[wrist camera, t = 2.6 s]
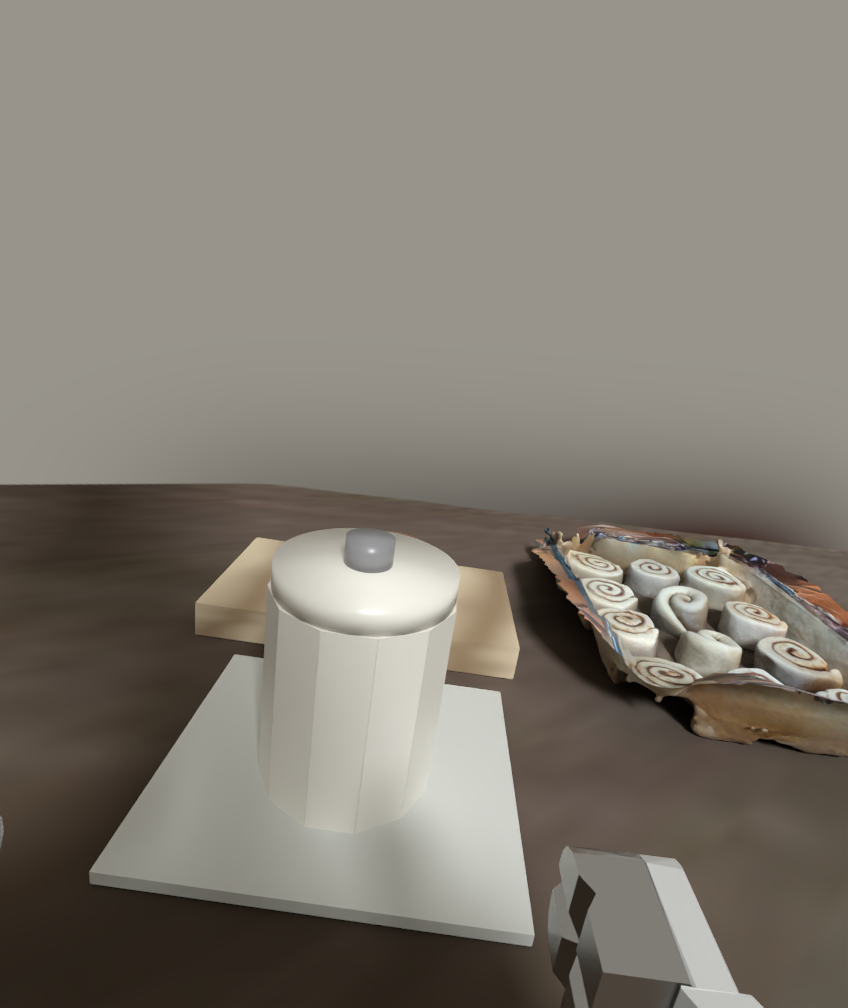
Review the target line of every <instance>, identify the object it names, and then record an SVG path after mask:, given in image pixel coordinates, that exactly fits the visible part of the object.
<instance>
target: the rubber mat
mask: <svg viewBox="0 0 848 1008" xmlns="http://www.w3.org/2000/svg"><path fill="white" fill-rule="evenodd" d="M263 663H264V658H257V657H250V656H243V655H236V654H235V655H234V656H233V658H232V659H231V661H230V662H229V664H228V665H227V667H226V668H225V670H224V671H223V673H222V674H221V676H220V677H219V679H218V680H217V682H216V683H215V685H214V686H213V688H212V689H211V690H210V692H209V693H208V695H207V696H206V698H205V699H204V701H203V702H202V704H201V705H200V707H199V708H198V710H197V711H196V713H195V714H194V716H193V717H192V719H191V720H190V722H189V723H188V725H187V726H186V728H185V729H184V731H183V732H182V734H181V735H180V737H179V738H178V740H177V741H176V743H175V744H174V746H173V747H172V749H171V750H170V752H169V753H168V755H167V756H166V758H165V759H164V761H163V762H162V764H161V765H160V767H159V768H158V770H157V771H156V773H155V774H154V776H153V777H152V779H151V780H150V782H149V783H148V785H147V786H146V787H145V789H144V790H143V792H142V793H141V795H140V796H139V798H138V799H137V801H136V802H135V804H134V805H133V807H132V808H131V810H130V811H129V813H128V814H127V816H126V817H125V819H124V820H123V822H122V823H121V825H120V826H119V828H118V829H117V831H116V832H115V834H114V835H113V837H112V838H111V840H110V841H109V843H108V844H107V846H106V847H105V849H104V850H103V852H102V853H101V855H100V856H99V858H98V859H97V861H96V862H95V864H94V865H93V867H92V868H91V870H90V871H89V879H90V884H96V885H103V886H110V887H117V888H124V889H131V890H138V891H145V892H152V893H159V894H166V895H173V896H180V897H187V898H194V899H201V900H208V901H215V902H222V903H229V904H236V905H243V906H250V907H257V908H264V909H271V910H278V911H285V912H292V913H299V914H306V915H313V916H320V917H327V918H334V919H341V920H348V921H355V922H362V923H369V924H376V925H383V926H390V927H397V928H404V929H411V930H418V931H425V932H432V933H439V934H446V935H453V936H460V937H467V938H474V939H481V940H488V941H495V942H502V943H509V944H516V945H523V946H530V947H532V943H533V940H534V936H535V934H534V927H533V920H532V913H531V906H530V899H529V892H528V885H527V878H526V871H525V864H524V857H523V850H522V843H521V836H520V829H519V822H518V815H517V808H516V800H515V793H514V786H513V779H512V772H511V765H510V758H509V751H508V744H507V737H506V730H505V723H504V716H503V709H502V702H501V695H500V692H497V691H490V690H483V689H476V688H469V687H462V686H455V685H448V684H444V688H443V694H442V700H441V706H440V711H439V717H438V723H437V729H436V735H435V741H434V747H433V753H432V758H431V764H430V770H429V776H428V782H427V788H426V789H425V790H424V792H423V793H422V794H421V795H420V796H419V798H418V799H417V800H416V801H415V802H414V803H413V805H412V806H411V807H410V808H409V809H408V810H407V812H406V813H405V814H404V815H403V816H402V817H401V818H400V819H398V820H395V821H392V822H389V823H386V824H383V825H380V826H377V827H374V828H371V829H368V830H365V831H362V832H359V833H356V834H355V833H354V834H350V833H343V832H336V831H329V830H322V829H315V828H308V827H303V826H302V825H301V824H299V823H298V822H297V821H296V820H294V819H293V818H292V817H290V816H289V815H288V814H286V813H285V812H284V811H282V810H281V809H280V808H279V807H277V806H276V805H275V804H273V803H272V802H271V801H269V799H268V797H267V793H266V790H265V786H264V782H263V779H262V775H261V772H260V768H259V765H258V764H259V744H260V723H261V703H262V683H263Z"/></svg>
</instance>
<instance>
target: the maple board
mask: <svg viewBox="0 0 848 1008" xmlns="http://www.w3.org/2000/svg"><path fill="white" fill-rule="evenodd" d="M284 542H285V541H278V540H271V539H264V538H256V539H255V540H254V541H253V542H252V543H251V544H250V545H249V546H248V547H247V548H246V550H245V551H244V552H243V553H242V554H241V555H240V556H239V557H238V558H237V559H236V560H235V561H234V562H233V563H232V564H231V565H230V566H229V567H228V569H227V570H226V571H225V572H224V573H223V574H222V575H221V576H220V577H219V578H218V579H217V580H216V581H215V582H214V583H213V584H212V585H211V586H210V588H209V589H208V590H207V591H206V592H205V593H204V594H203V595H202V596H201V597H200V598H199V599H198V600H197V601H196V602H195V634H196V635H203V636H210V637H217V638H224V639H231V640H238V641H245V642H252V643H259V644H264V643H265V623H266V603H267V585H268V583H269V582H270V580H271V572H272V558H273V554H274V553H275V551H276V549H277V548H278V547H279V546H280V545H281V544H283V543H284ZM458 568H459V571H460V582H459V588H458V594H457V600H456V610H457V612H456V617H455V623H454V629H453V635H452V641H451V647H450V653H449V659H448V664H447V670H450V671H457V672H464V673H471V674H478V675H485V676H492V677H500V678H507V679H513V677H514V673H515V668H516V663H517V659H518V654H519V649H520V648H519V643H518V639H517V634H516V630H515V626H514V621H513V617H512V612H511V608H510V603H509V599H508V594H507V590H506V585H505V581H504V576H503V572H498V571H491V570H484V569H477V568H470V567H462V566H458Z"/></svg>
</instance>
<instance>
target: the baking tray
mask: <svg viewBox="0 0 848 1008" xmlns="http://www.w3.org/2000/svg"><path fill="white" fill-rule="evenodd" d="M577 531H578V533H577V534H576V535H575V537H572V539H571V540H568V541H562V539H561V537H562V535H563V534H562V533H561V532H557V533H555V532H554V531H552V532H551V531H550V529H549V528H546V529H545V533H546V534H548V535H549V536H548V537H545V538H542V539H537V540H536V541H537V542H535V543H536V545H538V546H539V548H535V549H532V550H533V551H532V552H533V553H535V554H537V555H540V557H539V558H542V559H543V561H545V565H546V566H548V569H549V570H551V571H552V573H554V574H556V576H555V577H556V584H557V587H558V588H559V589H560V590H562V591H564V592H565V593H567V594H568V595H567V596H566V598H567V599H569V600H570V601H571V602H572V603H573V604H574V605H575V606H576V607H577V608H578V609H579V612H578V613H577V614H578V615H579V617H580V619H581V621H582V623H583V626H584V627H585V628H586V629H587V630H589V631H592V630H594V635H595V638H596V641H597V644H598V648H599V652H600V656H601V659H602V662H603V664H604V665H605V667H606V668H607V672H608V674H609V676H610V678H611V679H612V681H613V682H614V683H616V684H618V683H620V682H625V681H628V682H633V681H634V682H637V683H639V684H641V685H643V686H645V687H647V688H648V689H650V690H651V691H653V692H654V693H655V694H657V696H656V698H655V701H656V702H661V700H662V698H663V697H664V696H678V697H680V698H681V699H683V700H684V701H686V702H687V703H688V704H690V705H691V706H692V707H694V713H693V717H692V718H691V721H690V726H691V729H692V731H693V732H694V733H695V734H697V735H699V736H701V737H705V738H708V739H713V740H722V741H729V742H738V743H743V744H748V745H751V744H752V742H755V741H756V740H758V739H768V740H774V741H776V742H778V743H782V744H786V745H790V746H792V747H794V748H796V749H799V750H802V751H803V752H806V753H816V754H827V755H835V756H844V757H848V612H846V611H844V610H843V608H842V607H840V606H839V605H838V604H837V603H836V602H835V601H834V600H833V599H832V598H831V597H830V596H829V595H827V594H824V593H822V592H821V588H819V587H818V586H816V585H814V584H809V583H808V580H806V579H804V578H803V577H802V576H800V575H796V574H792V573H789V572H786V571H785V569H784V568H783V566H780V565H778V564H775V563H773V562H770V561H768V560H766V559H763V558H761V557H759V556H756V555H752V554H748V553H746V552H745V551H743V550H742V549H741V548H740V547H738V546H732V545H729V544H728V543H723V541H722V540H721V539H719V540H717V542H713V541H709V542H705V541H700V540H698V539H696V538H686V537H680V536H678V535H677V536H673V535H672V534H658V533H654V534H652V533H648V532H646V533H644V532H639V531H628V530H625V529H621V528H617V527H614V526H607V525H593V526H584V527H579V528H577ZM623 574H626V579H625V582H624V584H622V579H623ZM679 582H681V583H680V585H679ZM678 585H679V586H678ZM632 591H633V592H635V593H637V594H639V595H642V596H645V597H648V598H652V599H654V600H653V603H652V607H651V612H650V618H649V616H647V615H645V614H643V613H639V612H636V608H637V605H638V599H637V598H635V597H634V594H633V592H632ZM708 608H710V609H714V610H719V611H722V614H721V618H720V621H719V624H718V625H717V631H718V632H715V631H711V630H705V628H706V620H707V614H708ZM654 625H655V626H656V627H658V628H659V629H661V630H663V631H664V632H666V633H668V634H670V635H672V636H675V637H677V638H680V639H679V641H678V644H677V647H676V649H675V652H674V656H675V661H676V663H674V662H672V661H671V660H670V655H669V654H668V652H667V650H666V649H665V647H664V645H663V644H662V643H661V641H660V640H658V633H659V632H658V629H654ZM742 648H743V649H747V650H750V651H754V652H755V656H754V667H753V668H739V665H740V661H741V655H742ZM655 654H657V656H658V657H659V658H655Z"/></svg>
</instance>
